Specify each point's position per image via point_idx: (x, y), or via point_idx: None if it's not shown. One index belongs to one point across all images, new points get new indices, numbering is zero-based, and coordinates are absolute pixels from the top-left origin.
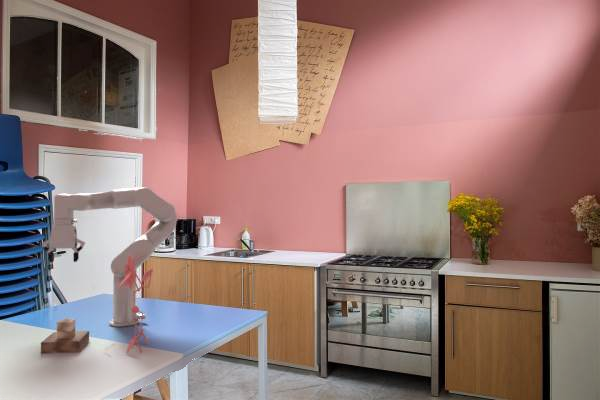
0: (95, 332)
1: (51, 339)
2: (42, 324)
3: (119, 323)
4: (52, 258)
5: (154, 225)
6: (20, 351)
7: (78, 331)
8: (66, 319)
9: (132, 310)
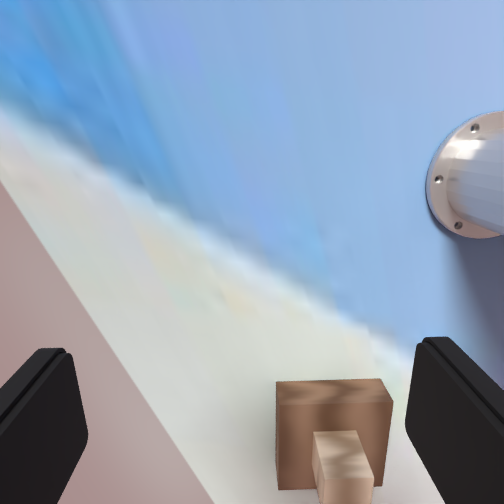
0: (385, 293)
1: (298, 469)
2: (139, 155)
3: (473, 225)
4: (56, 445)
5: None
6: (213, 442)
7: (359, 406)
8: (345, 485)
9: None
